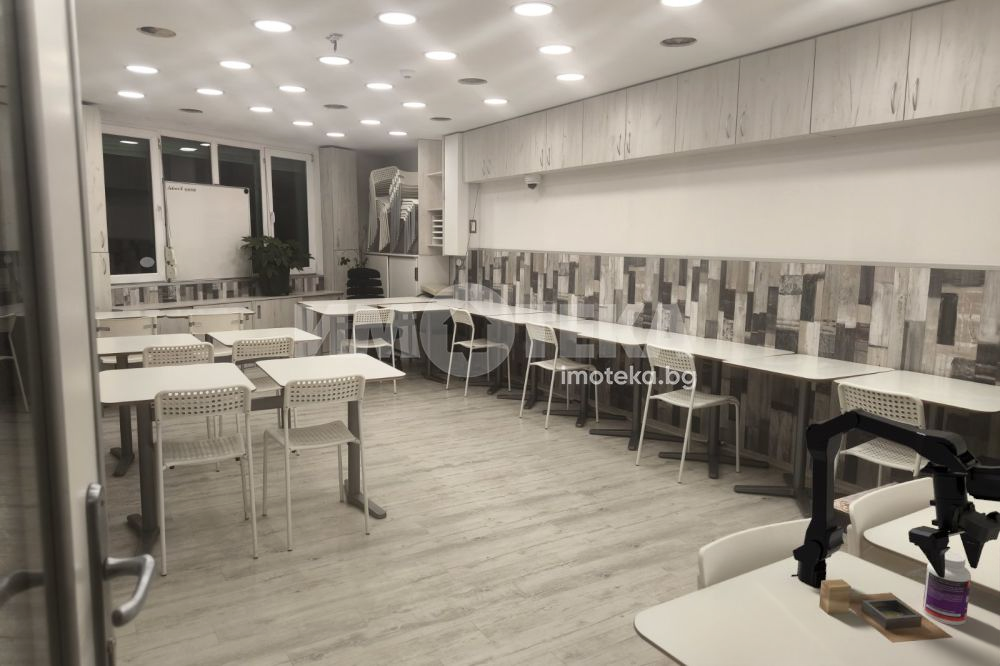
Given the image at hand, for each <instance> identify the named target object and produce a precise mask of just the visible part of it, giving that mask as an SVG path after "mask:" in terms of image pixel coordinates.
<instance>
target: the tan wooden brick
mask: <svg viewBox="0 0 1000 666" xmlns="http://www.w3.org/2000/svg"><path fill="white" fill-rule="evenodd" d="M851 588H852V585H850V584H849V583H848V582H846V581H845V580H844V579H842V578H839V579H826V580H823V581H821V588H820V591H819V592H820V595H819V602H818V603H819V604H818V607H819V608H820V609H821V610H822V611H823V612H824V613H826V615H833V614H845V613H847V614H848V613H849V610H850V608H849V601H850V596H851V590H852V589H851Z"/></svg>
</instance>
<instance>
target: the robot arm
mask: <svg viewBox="0 0 1000 666" xmlns="http://www.w3.org/2000/svg"><path fill="white" fill-rule="evenodd" d="M855 429H856V430H858V431H861V432H864V433H867V434H870V435H872V436H873V435H874V436H876V437H878V438H882V439H884V440H887V441H889V442H893V443H897V444H898V445H902V446H904V447H908V448H909V449H911V450H912V451H914V452H915V453H916V454H917V455H919V457H922V458H924V459H925V460H928V462H926V464H925V466H923V467H922V468H921V469H919V472H920V473H921V474H929V475H931V476H932V478H931V479H932V487H933V499H929V506H931V507H932V506H933V507H934V508H935V509H934V511H935V517H936V518H935V519H934V518H933V519H931V525H932V526H935V527H937V528H935V527H931V526H927V525H920V526H917V527H914V528H913V527H912V528H911V529H910V530H908V542H909V543H911V544H914V546H916V547H918V548H919V549H920V551H921V552H922V553H923V554H924V556H925V557H926V559H927V560H928V563H929V562H930V564H931V565H932V567H933V568H934V570H935V572H936V573H937V575H938V576H939V577H941V578H944V577H945V553H946V552H947V551H950V550H951V547H950V546H948V545H949V543H950V537H953V536H958V535H959V538H960V540H961V544H962V547H963V549H964V552H965V556H966V559H967V561H968V564H969V567H970V568H971V569H975V570H976V569H977V568H978V565H979V563H980V559H981V557H982V556H981V555H982V551H983V549H984V546H985V544H986V543H988V542H990V541H993V540H994V541H997V540H998V537H999V534H1000V512H999V511H997V510H994V511H993V510H992V511H989V512H987V514H986V512H980V511H977V510H976V504H975V503H974V501H972V500H969V499H968V495H969V496H970V497H973V499H974V500H980V501H986V502H987V501H988V502H999V503H1000V465H997V466H996V465H995V466H992V465H982V463H981V462H980V461H979V459H977V458H976V456H975V455H974V454H973V453H972V451H970V450H969V448H968V446H967V444H966V442H965V440H964V438H963V437H962V436H961V435H959V434H957V433H955V432H951V431H944V430H938V429H926V428H925V429H924V428H918V427H915V426H912V425H908V424H906V423H903V422H899V421H896V420H893V419H890V418H887V417H884V416H881V415H878V414H875V413H872V412H869V411H867V410H864V409H862V408H860V407H857V408H853V409H848V410H845V412H844V413H842V414H840V415H838V416H836V417H834V418H831V419H823V420H821V421H818V422H815V423H811V424H809V425H808V426H807V427H805V431H804V438H805V447H806V450H807V451H808V453H809V456H810V458H811V462H812V463H811V518H810V521H809V523H808V526H807V528H806V530H805V535H804V539H803V545H800V546H798V547H796V548H795V549H793V550H792V555H793V559H794V560H795V561H797V572H796V573H797V574H796V573H795V574H791V575H790V577H793V578H794V577H795V578H796V577H797V579H798V581H799V582H800V583H803V584H805V585H808V586H810V587H813V589H819V588H820V589H821V581H823V580H827V566H828V565H827V564H828V563H826V560H827V559H828V558H831V557H832V555H833V554H835V553H837V552H839V550H840V549H841V547H842V546H843V545H844V544H845V541H844V539H843V534H844V527H843V526H838V525H837V523H836V520H835V519H834V518H835V517H834V516H835V460H836V457H837V456H838V453H839V451H840V449H841V445H842V441H843V440H842V439H843V435H845V434H847V433H849V432H851V431H853V430H855Z"/></svg>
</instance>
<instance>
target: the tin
mask: <svg viewBox="0 0 1000 666" xmlns="http://www.w3.org/2000/svg"><path fill="white" fill-rule="evenodd" d="M897 598H898V597H897ZM897 598H891V599H878V600H864V601H862V610H861V611H862V612H864V613H865V614H866V615H867V616H869V617H870V618H871V619H872V620H874V621H875V622H876V623H877V624H879V625H880V626H881V627H882V628H884V629H885V630H888V629H900V628H913V627H921V621H922V616H921V615H922V614H921V613H920V614H921V615H920V614H918V613H917V612H918V611H917V612H915V611H914V610H915V609H914V608H913V609H914V610H913V609H911V608H910V607H911V606H910V607H908V606H907V605H908V604H907V603H906V604H907V605H906V604H904V603H905V602H904V601H903V602H904V603H903V602H901V601H900V600H901V599H900V598H899V599H900V600H899V599H897Z"/></svg>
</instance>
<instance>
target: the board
mask: <svg viewBox="0 0 1000 666" xmlns="http://www.w3.org/2000/svg"><path fill="white" fill-rule="evenodd" d="M891 598H897V599H899V600H900V601H901V602H903V603H904V604H906V605H907V606H908V607H910V608H911V609H913V610H914V611H915V612H917V613H918V614H920V615H921V616H922V621H921V627H913V628H900V629H888V630H885V629H884V628H882V627H881V626H880V625H879V624H877V623H876V622H875V621H874V620H872V619H871V618H870V617H869V616H867V615H866V614H865V613H864V612H862V611H861V610H862V601H864V600H878V599H891ZM849 610H852V611H853V612H854V613H855V614H856V615H857V616H859V618H861V619H862V620H864V621H865V622H866V623H868V625H870V626H871V627H872V628H874V629H875V630H876V631H877V632H879V634H881V635H882V636H883V637H884V638H886V639H887V640H888V641H890V642H891V643H900V642H901V643H902V642H903V643H904V642H911V641H914V642H915V641H925V640H927V641H929V640H938V639H949V638H950V639H951V638H953V635H951V634H950V633H948V632H946V630H944V629H942V628H941V627H940V626H939V625H937V624H935V623H934V622H933V621H932V620H930V619H928V618H927V617H926V616H924V615H923V614H921V613H920V612H919V611H917V610H916V609H914V608H913V607H912V606H910V605H909V604H907V603H906V602H905V601H903V600H902V599H900V598H899V597H897V596H896V595H895V594H893V592H883V593H882V592H881V593H869V594H867V593H866V594H855V595H854V594H852V595H850V601H849Z"/></svg>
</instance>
